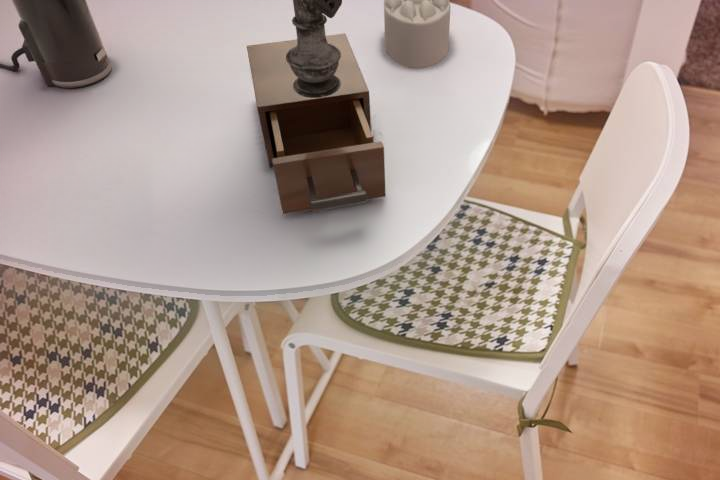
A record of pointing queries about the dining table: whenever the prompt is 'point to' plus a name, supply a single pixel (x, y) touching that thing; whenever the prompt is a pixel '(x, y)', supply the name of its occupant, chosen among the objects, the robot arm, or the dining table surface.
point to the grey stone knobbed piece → (313, 54)
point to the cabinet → (278, 79)
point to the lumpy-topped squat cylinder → (417, 31)
